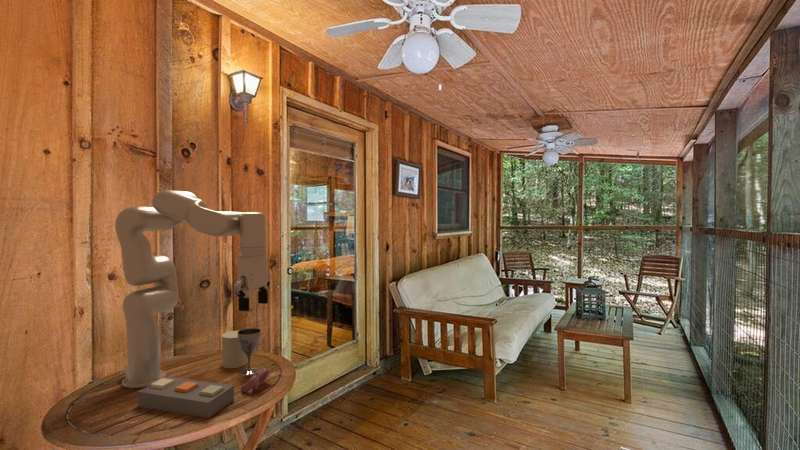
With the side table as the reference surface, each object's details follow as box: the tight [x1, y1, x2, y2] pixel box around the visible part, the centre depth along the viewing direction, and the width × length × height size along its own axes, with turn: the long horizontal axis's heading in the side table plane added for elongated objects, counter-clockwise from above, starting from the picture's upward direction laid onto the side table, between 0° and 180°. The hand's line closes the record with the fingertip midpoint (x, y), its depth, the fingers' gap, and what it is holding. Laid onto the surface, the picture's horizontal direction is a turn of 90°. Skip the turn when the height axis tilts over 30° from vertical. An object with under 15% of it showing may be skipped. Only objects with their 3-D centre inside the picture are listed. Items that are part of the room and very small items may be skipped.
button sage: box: [200, 385, 223, 397], centre depth 115 cm, size 4×4×3 cm
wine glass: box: [237, 327, 262, 377], centre depth 140 cm, size 8×8×15 cm
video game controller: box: [240, 367, 271, 393], centre depth 128 cm, size 10×5×7 cm, turn 169°
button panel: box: [137, 376, 235, 419], centre depth 117 cm, size 25×11×4 cm, turn 76°
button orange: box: [175, 381, 198, 393], centre depth 117 cm, size 4×4×3 cm
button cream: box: [151, 377, 174, 390], centre depth 119 cm, size 4×4×3 cm
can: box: [221, 330, 248, 369], centre depth 148 cm, size 9×9×12 cm
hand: (253, 306), depth 119 cm, fingers open, 9 cm apart
